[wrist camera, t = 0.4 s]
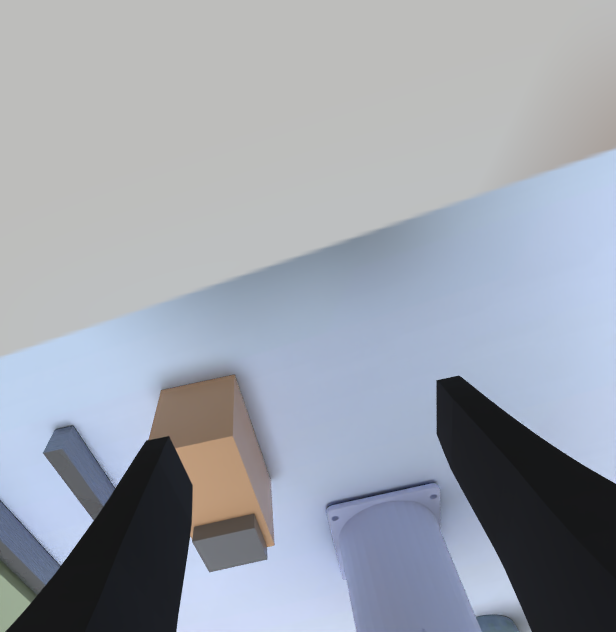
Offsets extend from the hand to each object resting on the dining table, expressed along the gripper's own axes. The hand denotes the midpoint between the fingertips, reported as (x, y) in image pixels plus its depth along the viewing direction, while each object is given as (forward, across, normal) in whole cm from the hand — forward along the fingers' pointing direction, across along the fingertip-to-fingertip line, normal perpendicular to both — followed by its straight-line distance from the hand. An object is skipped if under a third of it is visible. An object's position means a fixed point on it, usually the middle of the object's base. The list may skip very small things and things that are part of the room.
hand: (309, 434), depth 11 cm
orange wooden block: (+10, +6, +10) cm, 15 cm away
